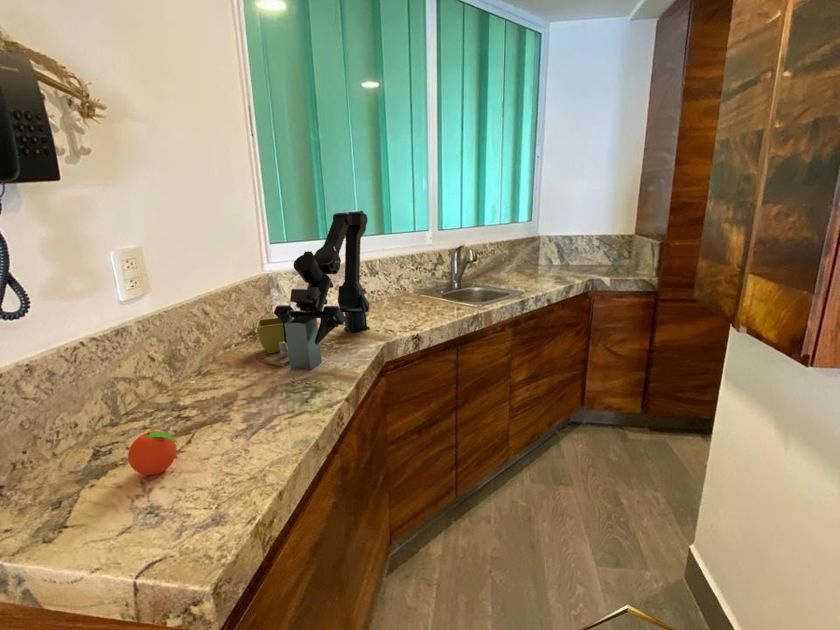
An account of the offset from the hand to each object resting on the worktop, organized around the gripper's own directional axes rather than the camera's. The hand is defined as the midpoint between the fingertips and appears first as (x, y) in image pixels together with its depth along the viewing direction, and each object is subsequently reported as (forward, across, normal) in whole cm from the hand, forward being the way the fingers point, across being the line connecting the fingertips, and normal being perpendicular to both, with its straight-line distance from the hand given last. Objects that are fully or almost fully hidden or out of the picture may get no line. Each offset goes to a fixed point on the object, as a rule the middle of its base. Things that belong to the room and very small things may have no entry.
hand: (300, 342), depth 116 cm
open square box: (+4, 0, +6) cm, 7 cm away
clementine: (+38, 0, -28) cm, 47 cm away
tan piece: (+2, -9, +8) cm, 12 cm away
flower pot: (-3, -16, +13) cm, 21 cm away
